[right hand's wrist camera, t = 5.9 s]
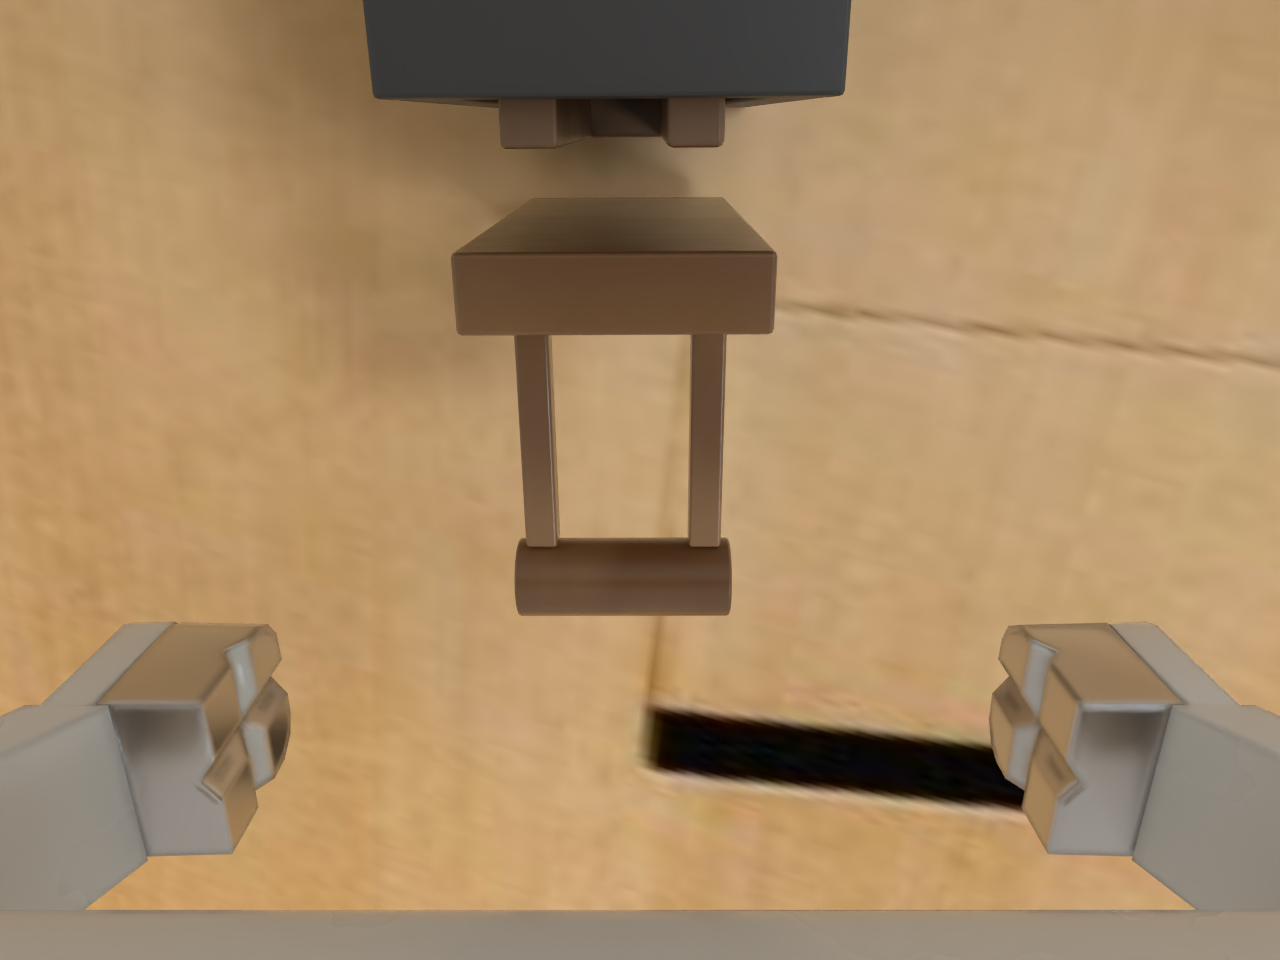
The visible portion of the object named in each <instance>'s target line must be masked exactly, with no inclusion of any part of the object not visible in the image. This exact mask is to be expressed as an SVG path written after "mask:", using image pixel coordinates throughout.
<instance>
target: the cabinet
mask: <svg viewBox="0 0 1280 960" xmlns="http://www.w3.org/2000/svg"><path fill="white" fill-rule="evenodd" d="M363 5H364V14H365V24H366V33H367V43H368V52H369V62H370V71H371V80H372V90H373V95H374V97H375V98H377V99H385V100H401V101H414V102H428V103H441V104H454V105H468V106H481V107H494V108H499V102H498V99H634V98H725V107H750V106H757V105H765V104H773V103H782V102H790V101H798V100H806V99H814V98H823V97H833V96H840V95H842V94H843V93H844V91H845V80H846V66H847V52H848V38H849V24H850V10H851V0H363Z"/></svg>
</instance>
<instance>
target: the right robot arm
mask: <svg viewBox="0 0 1280 960" xmlns="http://www.w3.org/2000/svg"><path fill="white" fill-rule="evenodd" d="M281 659H282V658H281V654H280V649H279V644H278V639H277V635H276V632H275V631H274V630H273V629H272V628H271V627H270V626H269V625H268V624H228V623H176V622H141V623H131V624H125V625H123V626H122V627H121V628H120V629H119V630H118V631H117V632H116V633H115V634H114V635H113V636H112V637H111V638H110V639H109V640H108V641H107V642H106V643H105V644H104V645H103V646H101V647H100V648H99V649H98V650H97V651H96V652H95V653H94V654H93V655H92V656H91V657H90V658H89V659H88V660H87V661H86V662H85V663H84V664H83V665H82V666H81V667H80V668H79V669H78V670H77V671H76V672H75V673H74V674H72V675H71V676H70V677H69V678H68V679H67V680H66V681H65V682H64V683H63V684H62V685H61V686H60V687H59V688H58V689H57V690H56V691H55V692H54V693H53V694H52V695H51V696H50V697H49V698H48V699H47V700H46V701H44V702H43V703H42V704H41V705H25V706H23V707H20V708H18V709H16V710H13V711H11V712H9V713H6V714H4V715H2V716H0V960H1280V716H1278V715H1276V714H1273V713H1271V712H1269V711H1267V710H1264V709H1262V708H1260V707H1257V706H1255V705H1239V704H1238V703H1237V702H1236V701H1235V700H1234V699H1232V698H1231V697H1230V696H1229V695H1228V694H1227V693H1226V692H1225V691H1224V690H1223V689H1222V688H1221V687H1220V686H1219V685H1218V684H1217V683H1216V682H1215V681H1214V680H1213V679H1212V678H1211V677H1210V676H1209V675H1208V674H1207V673H1206V672H1205V671H1204V670H1203V669H1201V668H1200V667H1199V666H1198V665H1197V664H1196V663H1195V662H1194V661H1193V660H1192V659H1191V658H1190V657H1189V656H1188V655H1187V654H1186V653H1185V652H1184V651H1183V650H1182V649H1181V648H1180V647H1179V646H1178V645H1177V644H1176V643H1175V642H1174V641H1173V640H1172V639H1170V638H1169V637H1168V636H1167V635H1166V634H1165V633H1164V632H1163V631H1162V630H1161V629H1160V628H1159V627H1158V626H1157V625H1154V624H1151V623H1148V622H1120V623H1083V624H1042V625H1015V626H1008V628H1007V630H1006V632H1005V634H1004V636H1003V638H1002V642H1001V648H1000V653H999V658H998V659H999V661H1000V662H1001V664H1002V665H1003V667H1004V669H1005V670H1006V672H1007V673H1008V675H1009V677H1008V678H1007V679H1006V680H1005V681H1004V682H1003V683H1002V684H1001V685H1000V686H999V687H998V688H997V689H996V690H995V691H994V692H993V693H992V701H991V708H990V716H989V724H990V735H991V745H992V748H993V751H994V754H995V758H996V761H997V763H998V765H999V767H1000V769H1001V771H1002V773H1003V774H1004V776H1005V778H1006V779H1008V780H1009V781H1011V782H1012V783H1014V784H1015V785H1017V786H1018V787H1020V788H1021V789H1023V790H1025V792H1024V798H1023V803H1022V809H1023V811H1024V812H1025V814H1026V816H1027V818H1028V820H1029V821H1030V823H1031V825H1032V827H1033V828H1034V830H1035V832H1036V834H1037V835H1038V837H1039V839H1040V841H1041V843H1042V844H1043V846H1044V848H1045V850H1046V851H1047V853H1048V854H1064V855H1101V856H1133V858H1132V860H1133V861H1134V862H1135V863H1136V864H1138V865H1139V866H1140V867H1142V868H1143V869H1144V870H1145V871H1147V872H1148V873H1149V874H1151V875H1152V876H1153V877H1155V878H1156V879H1157V880H1158V881H1160V882H1161V883H1162V884H1164V885H1165V886H1166V887H1168V888H1169V889H1170V890H1171V891H1173V892H1174V893H1175V894H1177V895H1178V896H1179V897H1180V898H1182V899H1183V900H1184V901H1186V902H1187V903H1188V904H1190V905H1191V906H1192V907H1193V908H1195V909H1196V910H84V909H86V908H87V907H88V906H89V905H91V904H92V903H93V902H95V901H96V900H97V899H99V898H100V897H101V896H102V895H104V894H105V893H106V892H108V891H109V890H110V889H112V888H113V887H114V886H115V885H117V884H118V883H119V882H121V881H122V880H123V879H124V878H126V877H127V876H128V875H130V874H131V873H132V872H134V871H135V870H136V869H137V868H139V867H140V866H141V865H143V864H144V863H145V862H147V860H148V858H147V856H178V855H214V854H232V853H233V852H234V850H235V848H236V846H237V844H238V843H239V841H240V839H241V837H242V836H243V834H244V832H245V830H246V828H247V827H248V825H249V823H250V821H251V820H252V818H253V816H254V814H255V812H256V811H257V809H258V803H257V798H256V792H255V790H257V789H259V788H260V787H262V786H263V785H265V784H266V783H268V782H269V781H271V780H272V779H274V778H275V776H276V774H277V773H278V771H279V769H280V767H281V765H282V763H283V761H284V759H285V755H286V750H287V746H288V742H289V737H290V706H289V700H288V693H287V692H286V691H285V690H284V689H283V688H282V687H281V686H280V685H279V684H278V683H277V682H276V681H275V680H274V679H273V678H272V677H271V675H272V673H273V672H274V670H275V669H276V667H277V665H278V664H279V662H280V661H281Z"/></svg>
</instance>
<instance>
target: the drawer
mask: <svg viewBox="0 0 1280 960" xmlns="http://www.w3.org/2000/svg"><path fill="white" fill-rule="evenodd" d="M498 102H499V119H500V136H501V145H502V147H503V148H505V149H530V148H557V147H560V146H563V145H567V144H570V143H573V142H576V141H579V140H582V139H585V138H589V137H662V138H663V139H664V140H665V142H666V143H667V144H668V145H669V146H671V147H719V146H721V145H722V144H723V142H724V128H725V98H634V99H498ZM451 265H452V278H453V290H454V302H455V314H456V326H457V332H458V334H460V335H462V336H479V335H514V340H515V357H516V374H517V391H518V408H519V425H520V442H521V460H522V477H523V494H524V511H525V528H526V538H522V539H520V541H519V543H518V546H517V551H516V560H515V599H516V606H517V610H518V613H519V615H522V616H714V615H728V614H729V612H730V608H731V595H732V567H731V551H730V544H729V541H728V539H727V538H720V537H721V503H722V469H723V435H724V401H725V366H726V334H770V333H772V332H773V329H774V314H775V293H776V273H777V254H776V252H775V251H774V250H773V249H772V248H771V247H770V246H769V245H768V244H767V243H766V242H765V241H764V240H763V239H762V237H761V236H760V235H759V234H758V233H757V232H756V231H755V230H754V229H753V228H752V227H751V226H750V225H749V224H748V223H747V222H746V221H745V220H744V219H743V218H742V217H741V216H740V215H739V214H738V213H737V212H736V211H735V210H734V208H733V207H732V206H731V205H730V204H729V203H728V202H727V201H726V200H725V199H724V198H722V197H705V198H538V199H531V200H530V201H528V202H527V203H525V204H524V205H522V206H521V207H519V208H518V209H517V210H515V211H514V212H512V213H511V214H509V215H508V216H506V217H505V218H504V219H502V220H501V221H499V222H498V223H496V224H495V225H493V226H492V227H491V228H489V229H488V230H486V231H485V232H483V233H482V234H481V235H479V236H478V237H476V238H475V239H473V240H472V241H470V242H469V243H468V244H466V245H465V246H463V247H462V248H460V249H459V250H457V251H456V252H455V253H453V254H452V256H451ZM551 335H691V345H690V413H689V482H688V538H559V535H560V524H559V501H558V478H557V455H556V431H555V408H554V385H553V362H552V338H551Z"/></svg>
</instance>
